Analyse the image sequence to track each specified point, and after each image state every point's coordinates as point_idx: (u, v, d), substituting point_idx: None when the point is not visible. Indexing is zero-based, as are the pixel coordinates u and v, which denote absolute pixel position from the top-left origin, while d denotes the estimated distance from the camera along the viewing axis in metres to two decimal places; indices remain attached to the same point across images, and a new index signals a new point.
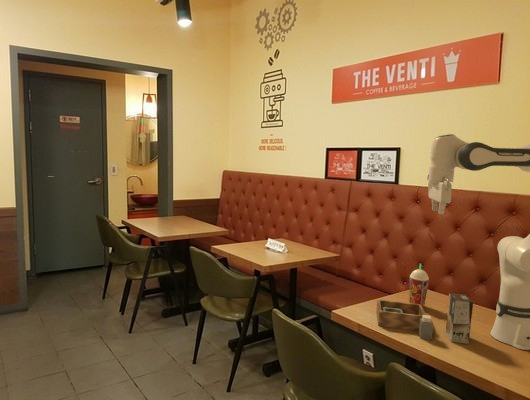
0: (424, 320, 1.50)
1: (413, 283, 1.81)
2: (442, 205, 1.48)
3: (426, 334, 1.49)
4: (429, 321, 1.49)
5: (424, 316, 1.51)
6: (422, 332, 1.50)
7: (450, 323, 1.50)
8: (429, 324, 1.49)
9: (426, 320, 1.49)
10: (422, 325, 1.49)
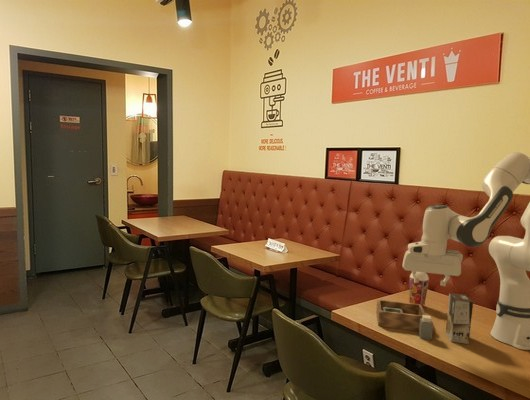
0: (424, 320, 1.50)
1: (413, 283, 1.81)
2: None
3: (426, 334, 1.49)
4: (429, 321, 1.49)
5: (424, 316, 1.51)
6: (422, 332, 1.50)
7: (450, 323, 1.50)
8: (429, 324, 1.49)
9: (426, 320, 1.49)
10: (422, 325, 1.49)
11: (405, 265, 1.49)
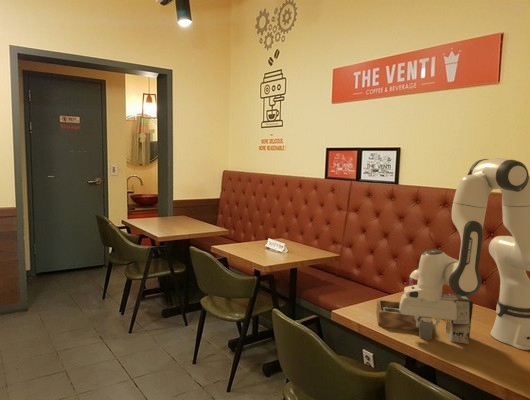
0: (424, 320, 1.50)
1: (413, 283, 1.81)
2: None
3: (426, 334, 1.49)
4: (429, 321, 1.49)
5: None
6: (422, 332, 1.50)
7: (450, 323, 1.50)
8: (429, 324, 1.49)
9: (426, 320, 1.49)
10: (422, 325, 1.49)
11: (402, 309, 1.50)
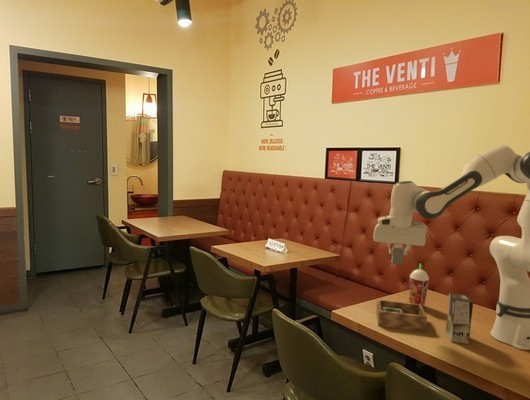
0: (396, 246, 1.61)
1: (413, 283, 1.81)
2: None
3: (397, 259, 1.61)
4: (400, 247, 1.60)
5: None
6: (394, 257, 1.61)
7: (450, 323, 1.50)
8: (400, 250, 1.60)
9: (398, 246, 1.61)
10: (394, 251, 1.61)
11: (375, 237, 1.62)
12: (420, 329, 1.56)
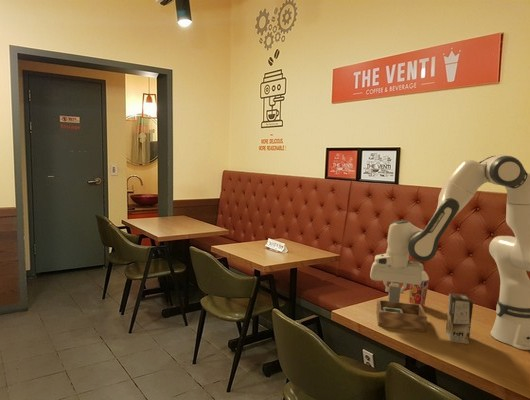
0: (392, 285, 1.62)
1: None
2: None
3: (394, 297, 1.62)
4: (397, 286, 1.62)
5: None
6: (390, 296, 1.62)
7: (450, 323, 1.50)
8: (397, 288, 1.62)
9: (394, 285, 1.62)
10: (390, 289, 1.62)
11: (372, 275, 1.63)
12: (420, 329, 1.56)
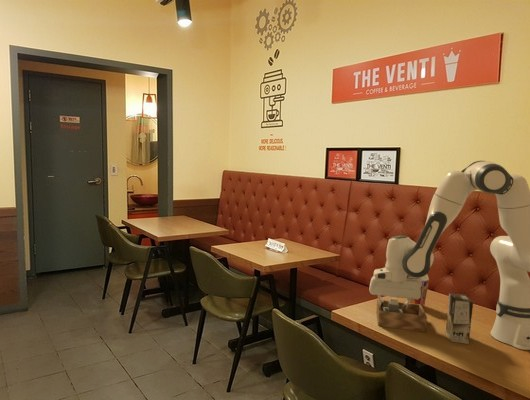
0: (391, 302, 1.63)
1: None
2: None
3: None
4: (396, 303, 1.63)
5: (391, 299, 1.64)
6: None
7: (450, 323, 1.50)
8: (396, 306, 1.62)
9: (393, 302, 1.63)
10: (389, 307, 1.63)
11: (371, 290, 1.64)
12: (420, 329, 1.56)
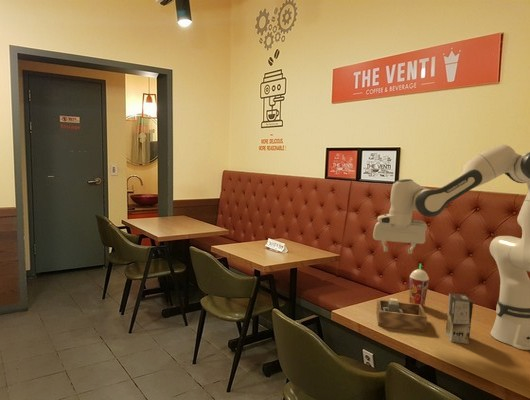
0: (391, 302, 1.63)
1: (413, 283, 1.81)
2: None
3: None
4: (396, 303, 1.63)
5: (391, 299, 1.64)
6: None
7: (450, 323, 1.50)
8: (396, 306, 1.62)
9: (393, 302, 1.63)
10: (389, 307, 1.63)
11: (375, 235, 1.62)
12: (420, 329, 1.56)
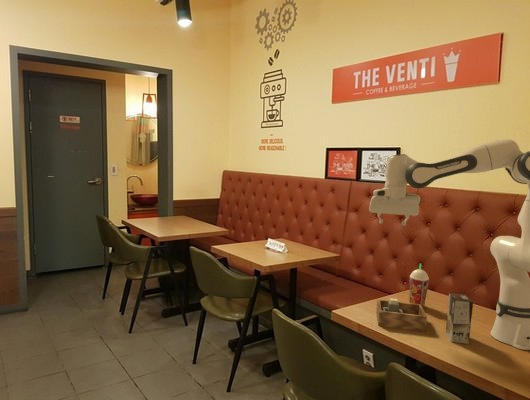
0: (391, 302, 1.63)
1: (413, 283, 1.81)
2: None
3: None
4: (396, 303, 1.63)
5: (391, 299, 1.64)
6: None
7: (450, 323, 1.50)
8: (396, 306, 1.62)
9: (393, 302, 1.63)
10: (389, 307, 1.63)
11: (371, 208, 1.70)
12: (420, 329, 1.56)
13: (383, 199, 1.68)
